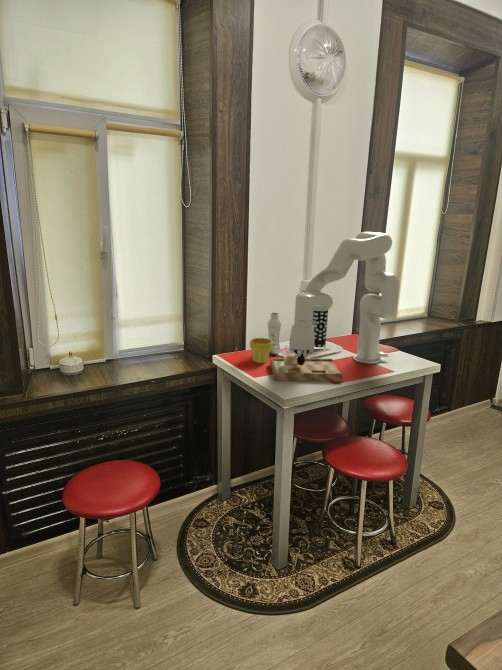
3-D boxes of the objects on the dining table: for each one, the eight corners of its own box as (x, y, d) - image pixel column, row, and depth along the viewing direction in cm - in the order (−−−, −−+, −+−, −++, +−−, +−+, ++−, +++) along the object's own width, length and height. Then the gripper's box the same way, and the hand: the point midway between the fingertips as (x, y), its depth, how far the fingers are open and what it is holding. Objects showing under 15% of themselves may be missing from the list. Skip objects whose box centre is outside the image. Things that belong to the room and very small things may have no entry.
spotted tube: (307, 344, 229) (309, 307, 223) (322, 344, 230) (325, 307, 224) (311, 349, 221) (313, 311, 215) (327, 349, 222) (330, 311, 216)
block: (295, 364, 190) (294, 353, 189) (297, 368, 186) (296, 357, 184) (284, 365, 190) (283, 354, 189) (285, 369, 185) (285, 358, 184)
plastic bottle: (270, 356, 209) (272, 315, 204) (264, 352, 215) (265, 312, 210) (282, 354, 212) (284, 314, 206) (275, 350, 218) (277, 311, 212)
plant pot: (272, 358, 207) (273, 338, 204) (270, 365, 197) (271, 344, 194) (250, 356, 208) (251, 336, 205) (248, 363, 198) (248, 343, 195)
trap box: (331, 365, 199) (332, 358, 198) (342, 381, 181) (342, 373, 180) (270, 365, 197) (270, 357, 196) (274, 380, 179) (275, 373, 178)
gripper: (318, 321, 187) (315, 361, 192) (284, 320, 186) (282, 361, 191) (322, 325, 180) (319, 367, 185) (286, 325, 179) (284, 367, 184)
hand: (300, 364), depth 188 cm, fingers closed
